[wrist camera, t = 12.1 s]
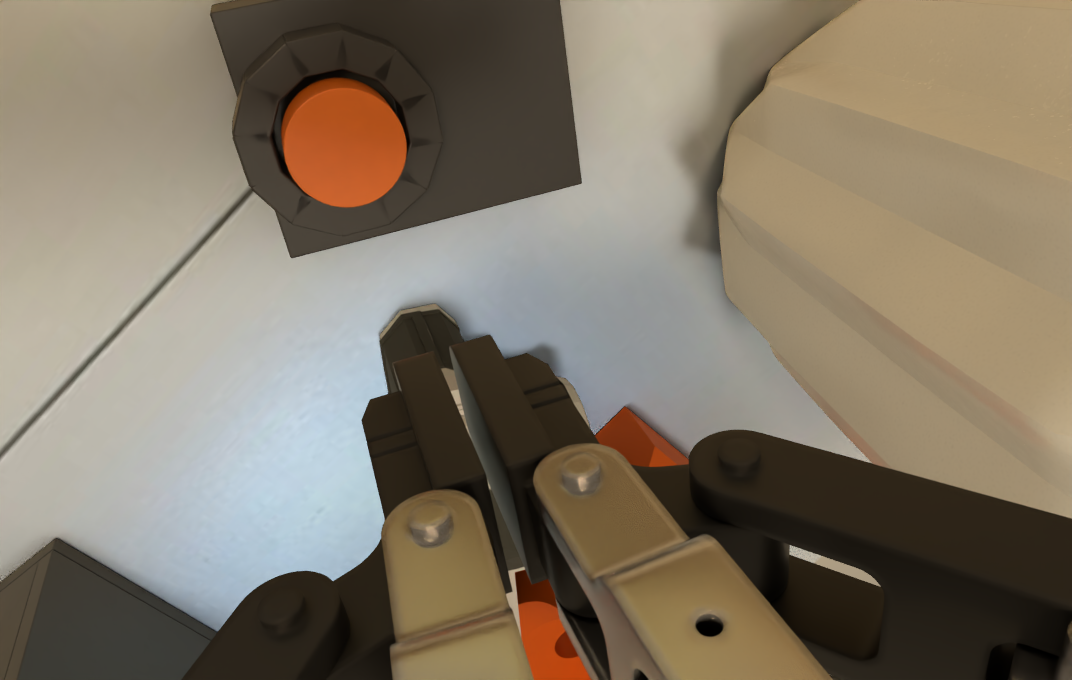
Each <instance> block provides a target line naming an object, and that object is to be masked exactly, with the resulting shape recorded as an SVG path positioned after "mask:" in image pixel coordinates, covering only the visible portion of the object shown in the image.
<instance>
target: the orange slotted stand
mask: <svg viewBox="0 0 1072 680" xmlns="http://www.w3.org/2000/svg"><path fill="white" fill-rule="evenodd" d="M595 437H596V439H597V440H598V442H599V443H600V445H605V446H608V447H611V448H613V449H615V450H617V451H618V452H619V453H621V454H622V455H623V456H624V457H625V458H626V459H627V461H628V462H629V463H630V464H631V465H637V466H644V467H661V466H673V465H684V464H689V459H688V458H686V457H685V456H684V455H683V454H682V453H680V452H679V451H678V450H677V449H676V448H674V447H673V446H672V445H671V444H670V443H668V442H667V441H666V440H665V439H664V438H662V437H661V436H660V435H659V434H658V433H656V432H655V431H654V430H653V429H652V428H650V427H649V426H648V425H647V424H646V423H645V422H643V421H642V420H641V419H640V418H639V417H637V416H636V415H635V414H634V413H633V412H631V411H630V410H629V409H628V408H627V407H624V408H623V409H622V410H621V411H620V412H619V413H618V414H617V415H616V416H615V417H614V418H613V419H612V420H610V421H609V422H608V423H607V424H606V425H605V426H604V427H603V428H602V429H601V430H600V431H599V432H598V433H597V434H596V435H595ZM515 580H516V590H517V600H518V609H519V619H520V629H521V638H522V642H523V645H524V648H525V652H526V655H527V658H528V662H529V665H530V668H531V671H532V675H533V678H534V680H591V679H590V677H589V675H588V673H587V671H586V669H585V667H584V665H583V663H582V662H581V660H580V658H579V656H578V654H577V652H576V650H575V648H574V646H573V644H572V643H571V641H570V639H569V637H568V635H567V633H566V631H565V629H564V627H563V625H562V623H561V621H560V618H559V614H558V609H557V603H556V598H555V594H554V591H553V589H552V587H551V585H550V583H549V580H548V579H547V580H544V581H541V582H538V583H535V584H531V582H530V579H529V577H528V575H527V572H526V570H522V571H518V572H515Z"/></svg>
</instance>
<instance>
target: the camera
mask: <svg viewBox="0 0 1072 680" xmlns="http://www.w3.org/2000/svg"><path fill="white" fill-rule="evenodd" d="M462 342H464V340H463V338H462V336H461V334H460V330H459V327H458V325H457V323H456V321H455V320H454V319H453V318H452V317H451V316H449V315H448V314H447V313H446V312H445V311H444V310H442V309H441V308H440V307H439V306H438V305H437V304H431V305H426V306H421V307H416V308H411V309H406V310H401V311H400V312H399V313H398V314H397V315H396V316H395V318H394V319H393V320H392V321H391V322H390V323H389V325H388V326H387V327H386V328H385V329H384V331H383V332H382V333H381V334H380V346H381V353H382V359H383V365H384V371H385V376H386V382H387V387H388V393H389V394H391V393H394V392H397V391H400V390H399V386H398V382H397V379H396V375H395V372H394V368H393V364H392V363H393V362H397V361H400V360H404V359H407V358H410V357H414V356H417V355H421V354H424V353H428V352H431V351H434V353H435V356H436V358H437V360H438V363H439V365H440V367H441V370H442V372H443V374H444V377H445V379H446V381H447V384H448V386H449V388H450V391H451V393H452V396H453V398H454V400H455V403H456V405H457V407H458V410H459V412H460V414H461V417H462V419H463V421H464V424H465V426H466V428H467V431H468V427H467V424H466V420H465V416H464V411H463V407H462V403H461V399H460V394H459V390H458V386H457V382H456V377H455V373H454V369H453V365H452V360H451V356H450V350H449V346H452V345H455V344H459V343H462ZM557 379H558V380H559V383H560V384H561V385H562V387H563V388H564V390H565V391H566V393H567V394H568V397H569V398H570V399H571V400H572V402H573V403H574V405H575V406H576V408H577V409H578V411H579V413H580V414H581V416H582V417H583V419H584V420H585V422H586V423H587V425H588V426H589V422H588V419H587V417H586V414H585V411H584V408H583V405H582V402H581V400H580V398H579V397H578V395H577V393H576V391H575V389H574V387H573V386H572V385H571V384H570V383H569V382H568V380H567V379H566V378H561V377H557ZM589 428H590V426H589ZM468 433H469V431H468ZM469 435H470V434H469ZM470 438H471V437H470ZM487 481H488V480H487ZM488 486H489V490H490V494H491V499H492V503H493V508H494V512H495V516H496V521H497V525H498V529H499V534H500V538H501V542H502V547H503V551H504V556H505V560H506V564H507V569H508V573H509V577H510V582H511V586H512V590H513V592H510V593H508V594H506V596H507V600H508V603H509V606H510V608H512V610H513V613H514V616H515V619H516V622H517V625H518V629H519V632H520V635H521V629H520V619H519V609H518V600H517V590H516V580H515V572H518V571H522V570H525V568H524V565H523V563H522V561H521V558H520V556H519V553H518V551H517V549H516V546H515V544H514V542H513V539H512V537H511V535H510V532H509V530H508V528H507V525H506V523H505V520H504V518H503V516H502V513H501V511H500V509H499V506H498V504H497V502H496V499H495V497H494V495H493V492H492V490H491V487H490V485H489V483H488Z"/></svg>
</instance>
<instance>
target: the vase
mask: <svg viewBox="0 0 1072 680" xmlns="http://www.w3.org/2000/svg"><path fill="white" fill-rule="evenodd" d="M717 209H718V221H719V234H720V246H721V256H722V267H723V277H724V284H725V292H726V295H727V296H728V297H729V299H730V300H731V301H732V302H733V304H734V305H735V306H736V307H737V308H738V309H739V310H740V311H741V312H742V313H743V315H744V316H745V317H746V318H747V319H748V320H749V321H750V322H751V323H752V324H753V326H754V327H755V328H756V329H757V330H758V331H759V332H760V333H761V334H762V335H763V337H764V338H765V339H766V340H767V341H768V342H769V344H770V347H771V349H772V351H773V354H774V355H775V357H776V358H777V359H778V361H779V362H780V363H781V364H782V365H783V367H784V368H785V369H786V370H787V371H788V372H789V373H790V374H791V376H792V377H793V378H794V379H795V380H796V381H797V382H798V383H799V385H800V386H801V387H802V388H803V389H804V390H805V391H806V392H807V394H808V395H809V396H810V397H811V398H812V399H813V400H814V401H815V402H816V404H817V405H818V406H819V407H820V408H821V409H822V410H823V411H824V413H825V414H826V415H827V416H828V417H829V418H830V419H831V420H832V421H833V422H834V423H835V424H836V425H837V427H838V428H839V429H840V430H841V431H842V432H843V433H844V434H845V435H846V436H847V437H848V438H849V439H850V440H851V441H852V442H853V443H854V444H855V445H856V446H857V447H858V448H859V450H860V451H861V452H862V453H863V454H864V455H865V456H866V457H867V458H868V459H869V460H870V461H871V462H872V463H873V464H875V465H879V466H883V467H886V468H890V469H894V470H897V471H901V472H904V473H908V474H912V475H915V476H919V477H923V478H926V479H930V480H934V481H937V482H941V483H945V484H948V485H952V486H955V487H959V488H963V489H966V490H970V491H974V492H977V493H981V494H985V495H988V496H992V497H995V498H999V499H1003V500H1006V501H1010V502H1014V503H1017V504H1021V505H1025V506H1028V507H1032V508H1036V509H1039V510H1043V511H1046V512H1050V513H1054V514H1057V515H1061V516H1065V517H1068V518H1072V0H860V1H858V2H857V3H855V4H854V5H853V6H851V7H850V8H848V9H847V10H845V11H844V12H843V13H841V14H840V15H839V16H837V17H836V18H835V19H833V20H832V21H831V22H829V23H828V24H826V25H825V26H824V27H822V28H821V29H820V30H818V31H817V32H816V33H814V34H813V35H812V36H810V37H809V38H808V39H806V40H805V41H804V42H803V43H801V44H800V45H799V46H797V47H796V48H795V49H793V50H792V51H791V52H789V53H788V54H787V55H786V56H784V57H783V58H782V59H781V60H780V61H779V62H777V63H776V64H775V65H774V66H773V67H772V69H771V70H770V72H769V74H768V77H767V81H766V84H765V87H764V90H763V91H762V92H761V93H760V94H759V95H758V96H757V97H756V98H755V99H754V101H753V102H752V103H751V104H750V105H749V106H748V107H747V108H746V109H745V110H744V111H743V112H742V113H741V114H740V116H739V117H738V118H737V119H736V120H735V121H734V123H733V124H732V126H731V127H730V131H729V134H728V140H727V147H726V154H725V162H724V171H723V180H722V183H721V185H720V187H719V188H718V192H717Z"/></svg>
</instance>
